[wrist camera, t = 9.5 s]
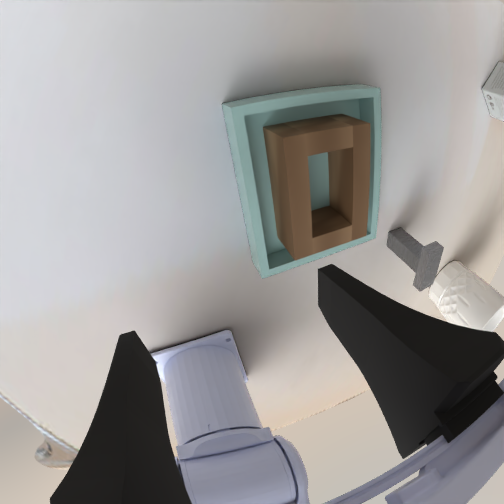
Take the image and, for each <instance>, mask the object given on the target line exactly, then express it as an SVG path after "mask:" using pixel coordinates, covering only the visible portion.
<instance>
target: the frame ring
mask: <svg viewBox="0 0 504 504" xmlns="http://www.w3.org/2000/svg"><path fill="white" fill-rule="evenodd" d="M263 133H264V140H265V147H266V154H267V161H268V169H269V176H270V183H271V191H272V199H273V206H274V214H275V222H276V230H277V237H278V239H279V240H280V241H281V243H282V244H283V245H284V247H285V248H286V249H287V251H288V252H289V253H290V255H291V256H292V257H293V259H294V260H295V261H296V260H299V259H302V258H304V257H307V256H310V255H313V254H316V253H319V252H322V251H325V250H328V249H330V248H333V247H336V246H339V245H342V244H345V243H348V242H350V241H353V240H356V239H359V238H362V237H364V236H366V235H367V223H368V208H369V188H370V123H368V122H365V121H363V120H360V119H357V118H354V117H351V116H348V115H345V114H335V115H328V116H321V117H314V118H308V119H302V120H296V121H291V122H285V123H280V124H275V125H270V126H265V127H263ZM326 152H328V169H329V203H330V206H326V207H323V208H319V209H316V210H312V211H311V198H310V182H309V167H308V156H311V155H316V154H321V153H326Z"/></svg>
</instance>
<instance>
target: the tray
mask: <svg viewBox="0 0 504 504" xmlns="http://www.w3.org/2000/svg"><path fill="white" fill-rule="evenodd" d="M222 108H223V113H224V118H225V123H226V128H227V133H228V139H229V144H230V149H231V154H232V159H233V164H234V169H235V174H236V179H237V184H238V189H239V195H240V200H241V205H242V210H243V215H244V220H245V225H246V230H247V235H248V240H249V245H250V250H251V255H252V260H253V263H254V265H255V267H256V268H257V270H258V272H259V274H260V276H261V278H262V279H263V278H266V277H269V276H272V275H275V274H278V273H280V272H283V271H286V270H289V269H292V268H295V267H298V266H300V265H303V264H306V263H309V262H312V261H314V260H317V259H320V258H323V257H326V256H328V255H331V254H334V253H337V252H339V251H342V250H345V249H348V248H350V247H353V246H356V245H358V244H361V243H364V242H367V241H369V240H372V239H375V238H376V231H377V220H378V208H379V193H380V173H381V94H380V88H378V87H373V86H368V85H363V84H354V85H340V86H329V87H319V88H310V89H302V90H294V91H287V92H280V93H274V94H268V95H262V96H257V97H251V98H246V99H241V100H236V101H232V102H227V103H222ZM335 114H345V115H348V116H351V117H354V118H357V119H360V120H363V121H365V122H368V123H370V188H369V208H368V223H367V235H366V236H364V237H362V238H359V239H356V240H353V241H350V242H348V243H345V244H342V245H339V246H336V247H333V248H330V249H328V250H325V251H322V252H319V253H316V254H313V255H310V256H307V257H304V258H302V259H299V260H296V261H295V260H294V259H293V257H292V256H291V255H290V253H289V252H288V251H287V249H286V248H285V247H284V245H283V244H282V243H281V241H280V240H279V239H278V237H277V230H276V222H275V214H274V206H273V199H272V191H271V183H270V176H269V169H268V161H267V154H266V147H265V140H264V133H263V127H265V126H270V125H275V124H280V123H285V122H291V121H296V120H302V119H308V118H314V117H321V116H328V115H335ZM308 167H309V182H310V198H311V211H312V210H316V209H319V208H323V207H326V206H330V203H329V169H328V152H326V153H321V154H316V155H311V156H308Z"/></svg>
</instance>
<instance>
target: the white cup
mask: <svg viewBox="0 0 504 504" xmlns="http://www.w3.org/2000/svg"><path fill="white" fill-rule="evenodd" d="M428 296H429V298H430V299H431V301H432V302H433V303H434V304H435V305H436V307H437V308H438V309H439V310H440V313H441V314H442V315H443V316H444V317H445V319H446V320H447V321H448V322H449V323H452V324H456V325H459V326H464V327H468V328H472V329H477V330H484V331H490V332H493V331H494V330H495V328H496V327H497V326H498V325H499V323H500V322H501V320H502V319H503V317H504V297H503V296H502V295H501V294H499V292H497V291H496V290H495V289H494V288H493V287H492V286H491V285H489V284H488V283H487V282H486V281H485V280H483V279H482V278H480V277H479V276H478V275H477V274H476V273H474V272H473V271H471V270H470V269H468V268H467V267H466V266H465V265H463V264H462V263H461V262H459V261H452V262H451V263H449V264H447V265H446V266H445V267H444V268H443V269H442V270H441V271H440V272H439V274H438V275H437V276H436V278H435V280H434V283H433V285H431V287H430V289H429V295H428Z"/></svg>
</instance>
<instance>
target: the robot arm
mask: <svg viewBox="0 0 504 504" xmlns="http://www.w3.org/2000/svg"><path fill="white" fill-rule="evenodd" d="M318 306H319V308H320V309H321V311H322V313H323V315H324V317H325V319H326V321H327V323H328V324H329V326H330V328H331V329H332V331H333V332H334V333H335V335H336V336H337V338H338V339H339V340H340V342H341V343H342V345H343V346H344V347H345V349H346V350H347V352H348V353H349V354H350V356H351V357H352V359H353V360H354V362H355V363H356V364H357V366H358V367H359V369H360V370H361V372H362V374H363V375H364V377H365V379H366V381H367V383H368V385H369V386H370V388H371V390H372V392H373V394H374V396H375V398H376V400H377V402H378V404H379V406H380V408H381V410H382V412H383V415H384V417H385V419H386V421H387V423H388V426H389V428H390V430H391V433H392V436H393V438H394V441H395V443H396V446H397V449H398V451H399V453H400V455H401V456H402V458H403V459H404V458H406V457H407V456H409V455H410V454H412V453H413V452H415V451H416V450H418V449H419V448H421V447H422V446H424V445H425V444H427V447H425V448H423V449H422V450H420V451H419V452H417V453H416V454H414V455H413V456H411V457H410V458H409V459H407V460H405V461H404V462H402V463H400V464H399V465H397V466H396V467H394V468H392V469H391V470H389V471H387V472H385V473H384V474H382V475H380V476H379V477H377V478H375V479H373V480H371V481H369V482H367V483H366V484H364V485H362V486H360V487H358V488H356V489H354V490H352V491H350V492H348V493H345V494H343V495H341V496H339V497H337V498H335V499H332V500H330V501H328V502H325V503H323V504H361V503H363V502H365V501H367V500H369V499H371V498H373V497H375V496H377V495H378V494H380V493H382V492H384V491H385V490H387V489H389V488H391V487H392V486H394V485H396V484H397V483H399V482H401V481H402V480H404V479H405V478H407V477H409V476H410V475H411V474H413V473H415V472H416V471H418V470H419V469H420V471H419V476H418V477H416V478H414V479H413V480H411V481H409V482H407V483H406V484H404V485H403V486H401V487H399V488H398V489H396V490H395V491H393V492H392V493H390V494H388V495H387V496H386V497H385V499H386V501H387V503H388V504H466V503H467V502H468V501H469V500H470V499H471V498H472V497H473V496H474V495H475V494H476V493H477V492H478V491H479V490H480V489H481V488H482V487H483V486H484V485H485V483H486V482H487V481H488V480H489V479H490V478H491V477H492V476H493V474H494V473H495V472H496V471H497V470H498V468H499V467H500V466H501V465H502V463H503V462H504V379H503V380H502V381H501V382H500V383H499V384H497V383H496V381H495V380H496V379H497V375H496V374H495V373H494V370H495V369H496V368H497V366H498V365H499V364H500V363H501V361H502V360H503V359H504V341H503V340H502V339H501V337H500V336H499V335H498V334H497V333H496V332H490V331H484V330H477V329H472V328H468V327H464V326H459V325H456V324H452V323H449V322H445V321H442V320H439V319H436V318H433V317H431V316H428V315H425V314H423V313H421V312H418V311H416V310H413V309H411V308H409V307H407V306H404V305H402V304H400V303H398V302H396V301H394V300H392V299H390V298H389V297H387V296H385V295H383V294H381V293H379V292H378V291H376V290H374V289H372V288H371V287H369V286H367V285H366V284H364V283H362V282H361V281H359V280H357V279H356V278H354V277H352V276H351V275H349V274H348V273H346V272H344V271H343V270H341V269H339V268H338V267H336V266H335V265H333V264H330V265H328V266H325V267H322V268H320V269H318ZM227 338H228V339H227ZM159 376H160V377H161V379H162V380H163V381H164V383H165V384H166V390H167V395H168V401H169V406H170V411H171V416H172V420H173V425H174V430H175V434H176V439H177V443H178V446H176V449H177V453H178V457H179V460H178V458H177V457H174V454H173V451H172V447H171V444H170V439H169V435H168V429H167V422H166V416H165V409H164V402H163V394H162V387H161V382H160V378H159ZM247 381H248V378H247V375H246V372H245V370H244V367H243V364H242V361H241V358H240V356H239V353H238V350H237V347H236V344H235V341H234V338H233V335H232V332H231V331H229V330H225V331H222V332H219V333H216V334H213V335H209V336H206V337H203V338H200V339H197V340H194V341H191V342H188V343H184V344H181V345H178V346H175V347H171V348H168V349H165V350H161V351H158V352H154V353H151V354H150V353H149V351H148V350H147V348H146V347H145V345H144V344H143V342H142V341H141V339H140V338H139V336H138V335H137V333H136V332H135V331H131V332H128V333H125V334H121V335H120V336H119V339H118V342H117V346H116V349H115V353H114V356H113V360H112V363H111V367H110V370H109V373H108V377H107V380H106V383H105V387H104V390H103V393H102V396H101V399H100V402H99V405H98V408H97V410H96V413H95V416H94V418H93V421H92V423H91V426H90V428H89V431H88V433H87V435H86V437H85V439H84V442H83V444H82V446H81V448H80V450H79V452H78V454H77V456H76V458H75V460H74V461H73V463H72V465H71V467H70V469H69V470H68V472H67V474H66V476H65V477H64V479H63V480H62V482H61V483H60V485H59V486H58V488H57V489H56V491H55V492H54V494H53V495H52V496H51V498H50V504H310V503H309V498H308V492H307V489H308V479H307V474H306V470H305V467H304V464H303V461H302V459H301V457H300V455H299V453H298V451H297V450H296V448H295V447H294V445H293V444H292V443H291V442H290V441H288V440H286V439H284V438H283V437H282V436H280V435H276V436H273V435H272V433H271V431H270V428H269V427H266V428H263V427H262V424H261V422H260V419H259V417H258V414H257V412H256V409H255V407H254V404H253V402H252V399H251V397H250V394H249V391H248V389H247V386H246V384H245V383H246V382H247Z"/></svg>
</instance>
